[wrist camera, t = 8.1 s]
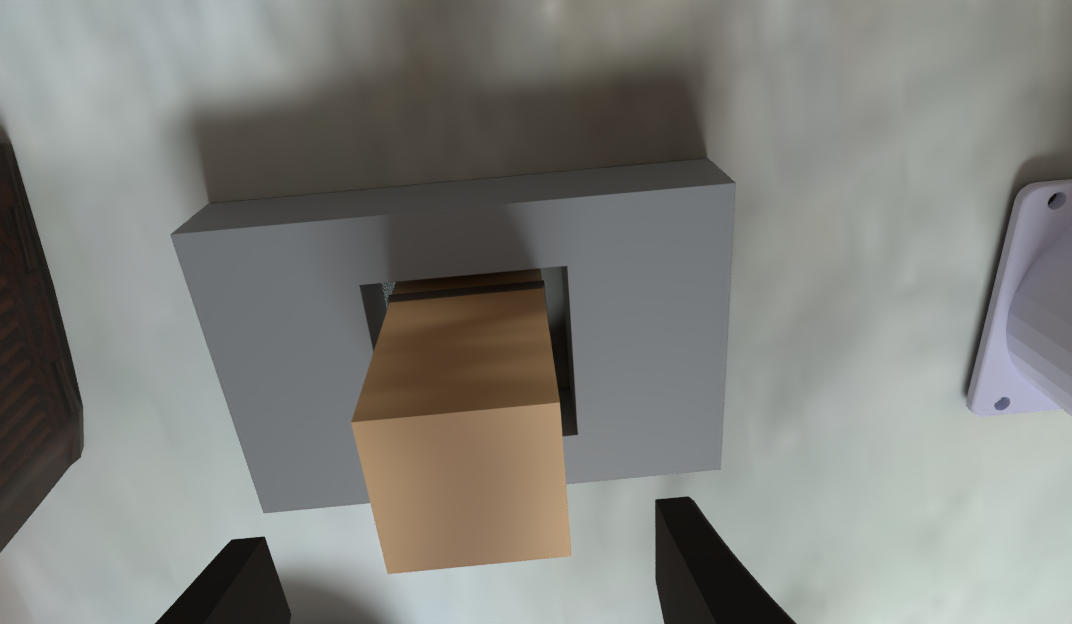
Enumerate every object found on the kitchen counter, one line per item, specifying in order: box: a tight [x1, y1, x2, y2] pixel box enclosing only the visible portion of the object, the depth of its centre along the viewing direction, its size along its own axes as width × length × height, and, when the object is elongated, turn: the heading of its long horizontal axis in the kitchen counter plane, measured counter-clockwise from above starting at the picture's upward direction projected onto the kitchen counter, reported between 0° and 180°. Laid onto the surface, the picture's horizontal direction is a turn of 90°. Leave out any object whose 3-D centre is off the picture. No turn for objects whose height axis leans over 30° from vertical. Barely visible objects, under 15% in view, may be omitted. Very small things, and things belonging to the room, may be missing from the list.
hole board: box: [171, 158, 736, 513], centre depth 20 cm, size 14×9×2 cm, turn 94°
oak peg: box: [351, 268, 571, 574], centre depth 18 cm, size 4×4×8 cm
